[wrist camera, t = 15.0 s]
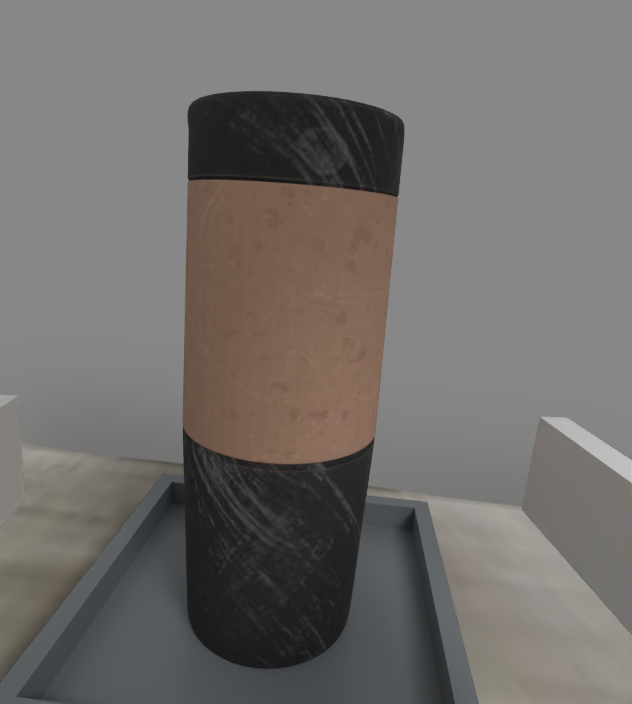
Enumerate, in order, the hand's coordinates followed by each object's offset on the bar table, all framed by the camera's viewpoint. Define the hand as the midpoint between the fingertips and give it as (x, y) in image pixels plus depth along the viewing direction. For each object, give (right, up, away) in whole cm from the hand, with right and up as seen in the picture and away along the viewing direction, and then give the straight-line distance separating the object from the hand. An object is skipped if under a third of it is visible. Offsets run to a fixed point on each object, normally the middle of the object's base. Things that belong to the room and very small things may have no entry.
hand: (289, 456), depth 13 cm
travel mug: (-1, -9, +10) cm, 13 cm away
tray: (-1, -9, +10) cm, 14 cm away
